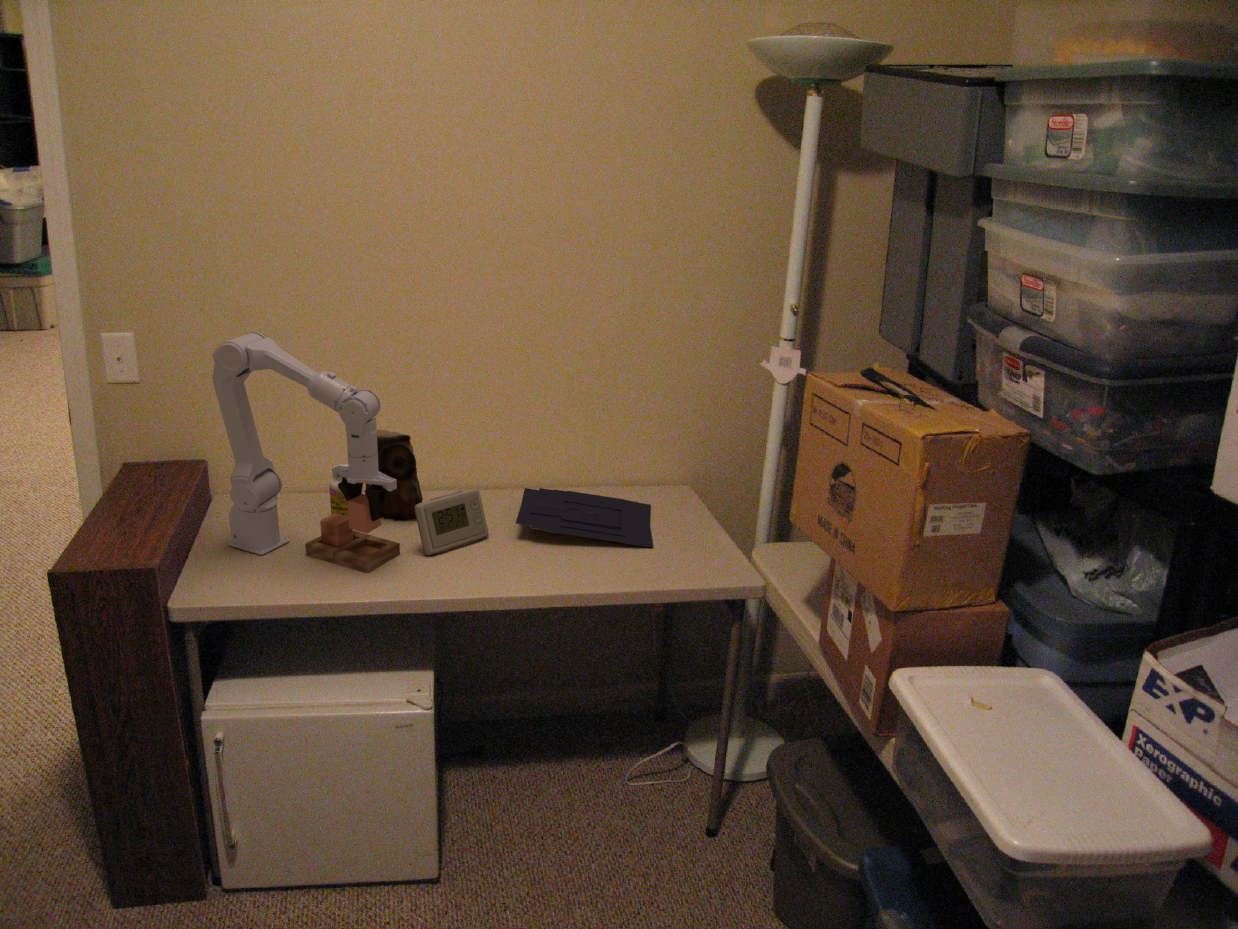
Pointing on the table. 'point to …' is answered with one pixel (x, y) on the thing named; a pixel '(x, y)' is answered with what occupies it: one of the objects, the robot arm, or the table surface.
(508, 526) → the table surface
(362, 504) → the post block
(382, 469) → the owl
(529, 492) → the black flat block
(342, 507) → the supplement bottle
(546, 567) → the table surface
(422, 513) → the digital clock
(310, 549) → the walnut base
